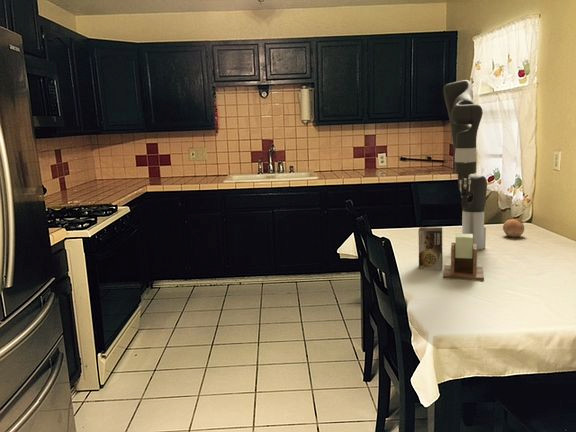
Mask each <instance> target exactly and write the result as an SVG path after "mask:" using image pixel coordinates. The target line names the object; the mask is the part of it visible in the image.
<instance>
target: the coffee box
mask: <svg viewBox="0 0 576 432" xmlns="http://www.w3.org/2000/svg"><path fill="white" fill-rule="evenodd" d="M417 231H418V233H417V234H418V270H426V271H427V270H428V271H429V270H430V271H431V270H432V271H443V268H444V267H443V227H441V226H440V227H439V226H433V227H432V226H431V227H430V226H420V227H419V228H418V230H417Z"/></svg>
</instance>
